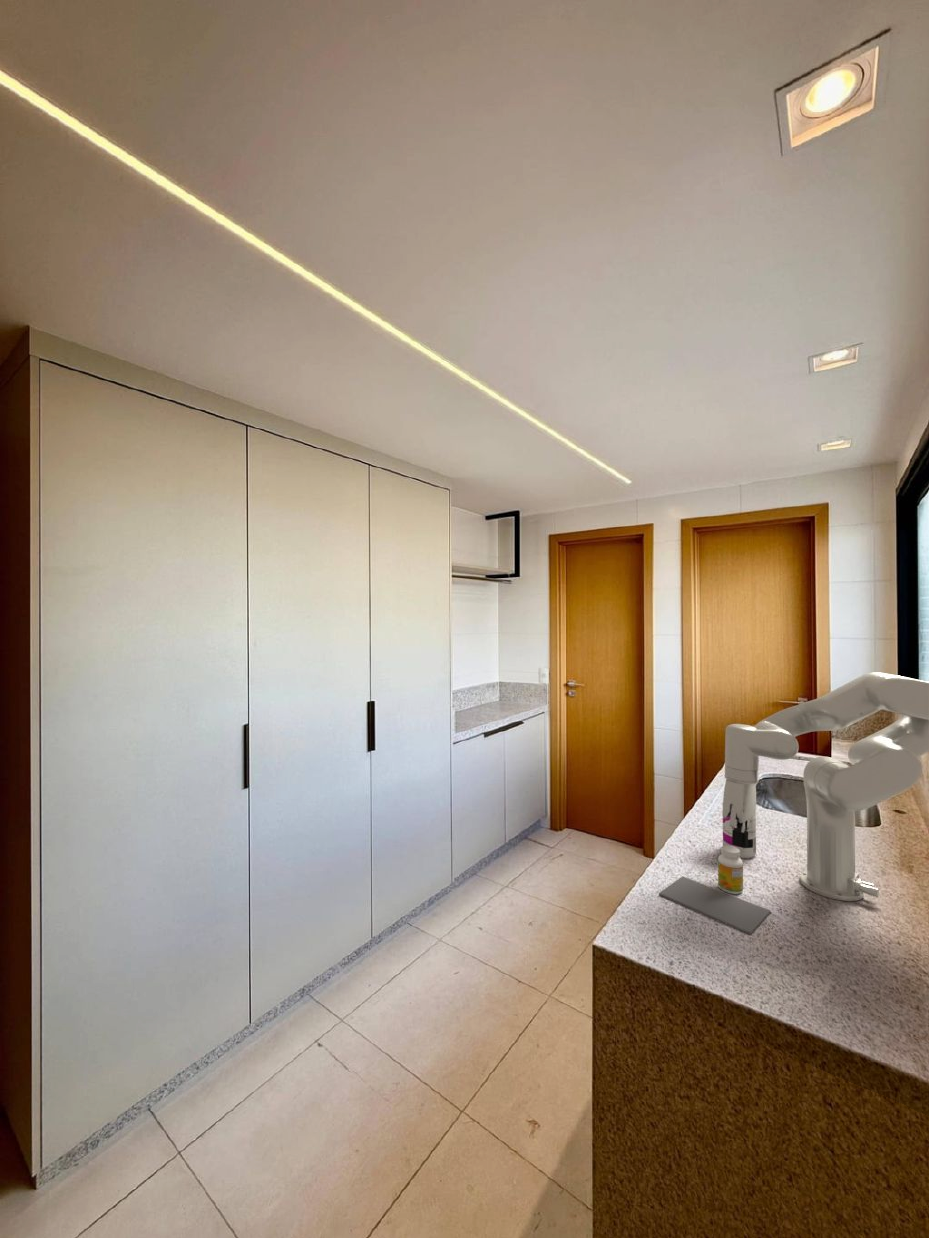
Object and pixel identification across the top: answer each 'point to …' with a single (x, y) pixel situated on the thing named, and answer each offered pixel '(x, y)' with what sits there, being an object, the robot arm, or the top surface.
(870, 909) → the top surface
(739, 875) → the supplement bottle
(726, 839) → the supplement can
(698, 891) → the mat
